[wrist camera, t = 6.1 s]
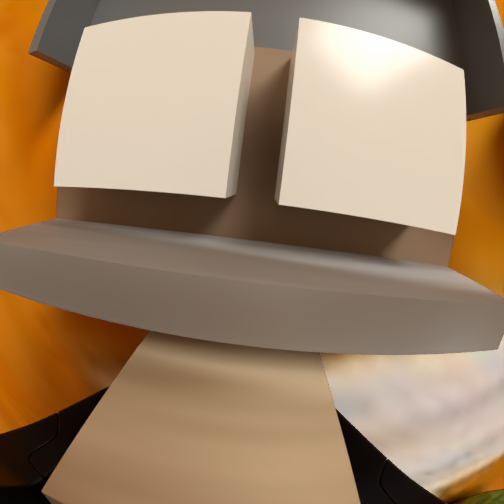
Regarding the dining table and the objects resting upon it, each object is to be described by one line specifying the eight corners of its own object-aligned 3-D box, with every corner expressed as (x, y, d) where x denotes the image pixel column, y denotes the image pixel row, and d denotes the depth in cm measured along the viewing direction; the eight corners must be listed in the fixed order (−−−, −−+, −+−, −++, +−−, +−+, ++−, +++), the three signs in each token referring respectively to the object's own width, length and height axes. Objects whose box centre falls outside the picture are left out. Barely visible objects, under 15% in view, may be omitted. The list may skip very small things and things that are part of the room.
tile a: (412, 221, 8) (455, 235, 6) (274, 198, 8) (278, 204, 6) (422, 90, 7) (463, 69, 5) (290, 57, 7) (299, 17, 5)
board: (407, 295, 11) (433, 317, 9) (89, 255, 12) (58, 270, 9) (433, 113, 10) (465, 102, 7) (107, 75, 10) (78, 57, 7)
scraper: (393, 408, 9) (455, 548, 3) (72, 367, 10) (-24, 481, 3) (445, 265, 8) (609, 371, 1) (56, 218, 8) (-123, 277, 1)
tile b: (236, 194, 8) (225, 198, 6) (100, 183, 9) (53, 186, 6) (254, 53, 7) (251, 12, 5) (121, 56, 7) (84, 27, 5)
